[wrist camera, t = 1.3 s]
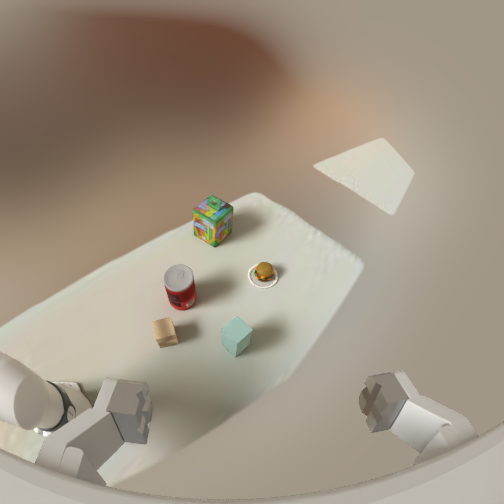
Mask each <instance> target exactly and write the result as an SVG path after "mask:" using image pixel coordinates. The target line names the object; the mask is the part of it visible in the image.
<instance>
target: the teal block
mask: <svg viewBox="0 0 504 504" xmlns="http://www.w3.org/2000/svg"><path fill="white" fill-rule="evenodd" d="M252 331H253V330H252V329H251V328H250V327H249V326H248V325H247V324H246V323H245V322H244V321H243V320H242V319H240V318H239V317H238V316H237V317H235V318H234V319H233V320H232V321H231V322H229V323H228V324H227V325H226V326H225V327H223V328H222V345H223V346H224V347H225V348H226V349H227V350H228V351H229V352H230V353H231V354H232V355H234V356H235V357H236V356H238V355H239V354H240V353H241V352H242V351H243V350H244V349H245V348H246V347H248V346H249V344H250V340H251V335H252Z"/></svg>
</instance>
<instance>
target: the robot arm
mask: <svg viewBox="0 0 504 504" xmlns="http://www.w3.org/2000/svg"><path fill="white" fill-rule="evenodd" d="M365 385H366V388H364V389H363V390H362V391H361V393H360V396H359V405H360V409H361V411H362V413H363V414H365V415H366V416H367V419H366V422H367V424H368V426H369V428H370V431H371V433H374V432H379V431H383V430H388V429H390V430H391V431H392V432H393V433H394V434H396V435H397V436H398V437H400V438H401V439H402V440H403V441H405V442H406V443H407V444H409V445H410V446H411V447H413V448H414V449H415V450H417V451H418V452H419V453H420V455H419V456H418V457H417V458H416V459H415V461H414V463H413V465H414V466H412V467H409V468H406V469H404V470H401V471H398V472H395V473H392V474H389V475H385V476H382V477H379V478H375V479H372V480H368V481H365V482H361V483H357V484H353V485H348V486H344V487H340V488H335V489H330V490H325V491H319V492H313V493H307V494H300V495H292V496H284V497H273V498H260V499H239V500H213V499H212V500H211V499H190V498H177V497H166V496H159V495H151V494H144V493H138V492H132V491H126V490H122V489H117V488H112V487H108V486H106V482H105V481H104V480H103V478H102V477H101V476H100V475H99V473H98V472H97V470H98V469H99V468H100V467H101V466H102V465H103V464H104V463H105V462H106V461H107V460H108V459H109V458H110V457H111V456H112V455H113V454H114V453H115V452H116V451H117V450H118V449H119V448H120V447H121V446H122V445H123V444H124V442H130V443H138V444H146V443H147V438H148V433H149V429H148V426H147V424H148V423H149V422H150V421H151V417H152V402H151V398H150V397H149V396H148V395H147V394H148V387H147V383H144V382H136V381H129V380H122V379H114V378H108V377H107V378H106V379H105V380H104V382H103V385H102V387H101V389H100V392H99V394H98V397H97V399H96V402H95V404H94V407H93V408H92V405H91V403H90V402H89V400H88V399H87V398H86V397H85V396H84V395H83V394H82V392H81V389H80V387H79V385H78V384H77V383H75V382H50V381H45V380H43V379H42V378H41V377H40V376H39V375H37V374H36V373H35V372H33V371H32V370H31V369H30V368H28V367H27V366H25V365H24V364H23V363H21V362H20V361H18V360H16V359H14V358H12V357H10V356H8V355H6V354H4V353H3V352H1V351H0V420H1V421H3V422H5V423H8V424H10V425H13V426H15V427H18V428H21V429H25V430H33V429H34V430H35V432H36V433H38V434H40V435H44V436H46V438H45V440H44V442H43V445H42V447H41V449H40V452H39V454H38V457H37V459H36V462H35V464H34V463H32V462H29V461H27V460H25V459H22V458H20V457H18V456H16V455H14V454H11V453H9V452H7V451H5V450H3V449H1V448H0V504H504V422H502V423H501V424H499V425H497V426H496V427H494V428H492V429H490V430H489V431H487V432H486V433H483V434H482V435H480V436H478V435H477V433H476V431H475V430H474V428H473V427H472V426H471V424H470V423H469V421H468V420H467V418H466V417H465V416H463V415H461V414H459V413H457V412H455V411H453V410H451V409H449V408H447V407H445V406H443V405H441V404H439V403H437V402H435V401H433V400H432V399H430V398H427V397H426V396H424V395H423V396H420V394H419V393H418V392H417V390H416V389H415V387H414V386H413V384H412V383H411V381H410V380H409V378H408V377H407V376H406V374H405V373H404V371H401V370H400V371H394V372H390V373H383V374H378V375H372V376H369V377H368V378H367V379H366V381H365ZM71 386H72V387H71Z"/></svg>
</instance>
